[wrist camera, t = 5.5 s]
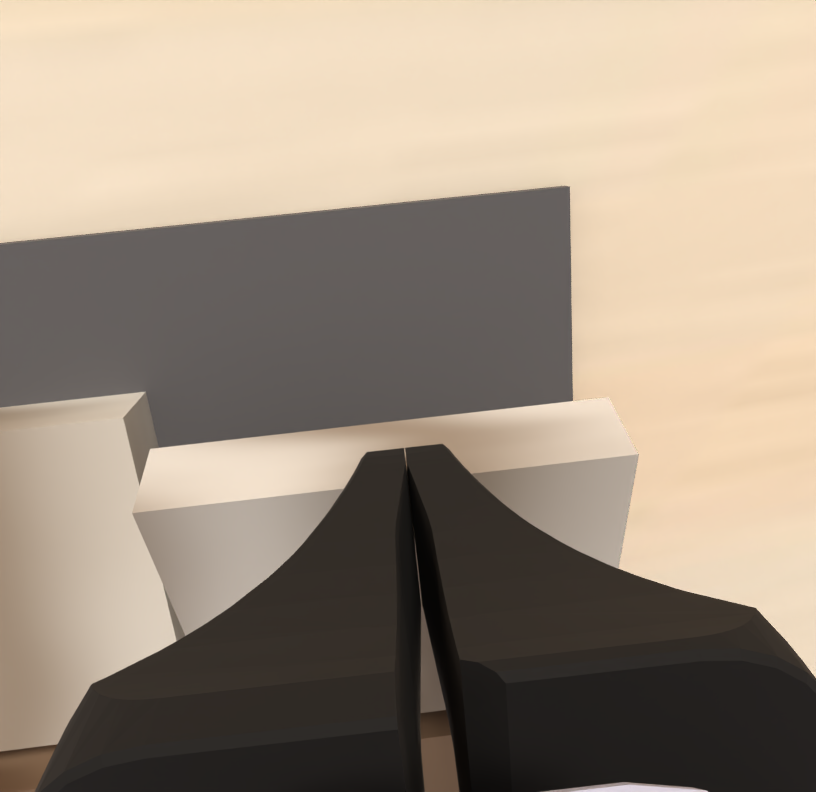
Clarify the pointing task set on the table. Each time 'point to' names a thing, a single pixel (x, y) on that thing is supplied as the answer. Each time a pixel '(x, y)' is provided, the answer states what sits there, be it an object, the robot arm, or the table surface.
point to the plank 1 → (73, 559)
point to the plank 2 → (332, 469)
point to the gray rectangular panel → (299, 316)
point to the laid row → (23, 768)
